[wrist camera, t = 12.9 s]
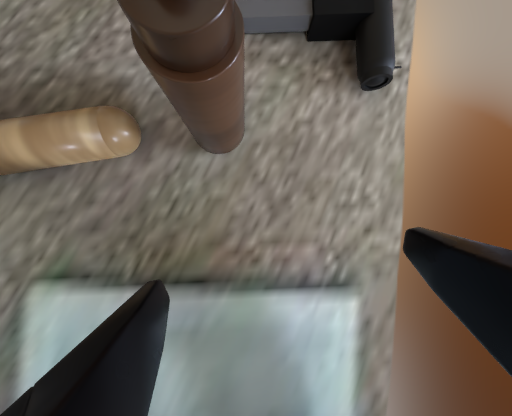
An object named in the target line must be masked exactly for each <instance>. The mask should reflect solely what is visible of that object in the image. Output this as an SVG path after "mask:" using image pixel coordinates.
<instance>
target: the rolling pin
mask: <svg viewBox="0 0 512 416" xmlns="http://www.w3.org/2000/svg"><path fill="white" fill-rule="evenodd" d="M140 141H141V130H140V127H139V125H138V123H137V121H136V120H135V119H134V118H133V117H132V116H131V115H130V114H129V113H128V112H126V111H125V110H123V109H121V108H118V107H115V106H110V105H106V106H95V107H88V108H81V109H74V110H67V111H60V112H53V113H45V114H38V115H31V116H24V117H17V118H10V119H3V120H0V176H1V175H7V174H14V173H20V172H26V171H33V170H39V169H46V168H52V167H59V166H65V165H72V164H78V163H85V162H91V161H98V160H104V159H111V158H117V157H123V156H127V155H129V154H131V153H133V152H134V151H135V150H136V149H137V148H138V146H139V144H140Z"/></svg>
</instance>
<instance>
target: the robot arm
mask: <svg viewBox="0 0 512 416" xmlns="http://www.w3.org/2000/svg"><path fill="white" fill-rule="evenodd" d="M403 251H404V253H405V255H406V256H407V257H408V259H409V260H410V261H411V262H412V264H413V265H414V267H415V268H416V269H417V271H418V272H419V273H420V275H421V276H422V277H423V278H424V280H425V281H426V282H427V284H428V285H429V286H430V287H431V289H432V290H433V291H434V292H435V293H436V294H437V296H438V297H439V298H440V299H441V300H442V301H443V302H444V303H445V304H446V306H447V307H448V308H449V309H450V310H451V311H452V312H453V313H454V314H455V315H456V316H457V317H458V319H460V321H461V322H462V323H463V324H464V325H465V326H466V327H467V329H468V330H469V331H470V332H471V333H472V334H473V335H474V336H475V337H476V338H477V339H478V341H479V342H480V343H481V344H482V345H483V346H484V347H485V348H486V349H487V350H488V352H489V353H490V354H491V355H492V356H493V357H494V358H495V359H496V360H497V361H498V362H499V364H501V366H502V367H503V368H504V369H505V370H506V371H507V372H508V373H509V374H510V376H511V377H512V250H508V249H504V248H501V247H497V246H492V245H489V244H485V243H481V242H477V241H473V240H469V239H465V238H461V237H457V236H453V235H449V234H445V233H441V232H437V231H433V230H429V229H425V228H421V227H416V228H412V229H408V230H407V231H406V233H405V238H404V244H403ZM169 303H170V299H169V295H168V293H167V291H166V288H165V286H164V284H163V282H162V281H161V280H159V279H158V280H153V281H149V282H147V283H146V284H145V285H144V286H142V287H141V288H140V289H139V290H138V291H137V292H136V293H135V294H134V295H133V296H131V297H130V298H129V299H128V300H127V301H126V302H125V303H124V304H123V305H121V306H120V307H119V308H118V309H117V310H116V311H115V312H114V313H113V314H112V315H110V316H109V317H108V318H107V319H106V320H105V321H104V322H103V323H102V324H100V325H99V326H98V327H97V328H96V329H95V330H94V331H93V332H92V333H91V334H89V335H88V336H87V337H86V338H85V339H84V340H83V341H82V342H81V343H79V344H78V345H77V346H76V347H75V348H74V349H73V350H72V351H71V352H70V353H68V354H67V355H66V356H65V357H64V358H63V359H62V360H61V361H60V362H58V363H57V364H56V365H55V366H54V367H53V368H52V369H51V370H50V371H48V372H47V373H46V374H45V375H44V376H43V377H42V378H41V379H40V380H39V381H37V382H36V383H35V385H34V387H31V388H30V389H28V390H27V391H26V392H25V393H24V394H23V395H22V396H21V397H20V398H19V399H18V400H16V401H15V402H14V403H13V404H12V405H11V406H10V407H9V408H7V409H6V410H5V411H4V412H3V413H2V414H1V415H0V416H148V411H149V407H150V403H151V399H152V394H153V390H154V386H155V382H156V377H157V373H158V369H159V365H160V360H161V356H162V352H163V347H164V341H165V333H166V326H167V318H168V311H169Z"/></svg>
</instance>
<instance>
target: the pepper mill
mask: <svg viewBox="0 0 512 416" xmlns="http://www.w3.org/2000/svg"><path fill="white" fill-rule="evenodd" d="M117 1H118V3H119V5H120V7H121V8H122V10H123V12H124V13H125V15H126V17H127V18H128V20H129V22H130V23H131V36H132V40H133V44H134V46H135V49H136V51H137V53H138V55H139V56H140V58H141V60H142V61H143V63H144V64H145V65H146V67H147V68H148V70H149V71H150V73H151V74H152V76H153V77H154V79H155V80H156V82H157V83H158V85H159V86H160V88H161V89H162V91H163V92H164V94H165V95H166V97H167V98H168V100H169V101H170V103H171V104H172V106H173V107H174V108H175V110H176V111H177V113H178V114H179V116H180V117H181V119H182V120H183V122H184V123H185V125H186V126H187V128H188V129H189V131H190V132H191V134H192V135H193V137H194V138H195V140H196V141H197V142H198V144H199V145H200V146H201V147H202V148H203V149H205V150H206V151H209V152H211V153H216V154H222V153H227V152H230V151H232V150H233V149H235V148H236V147H237V146H238V145H239V144H240V142H241V141H242V138H243V135H244V21H243V17H242V14H241V11H240V9H239V7H238V5H237V3H236V1H235V0H117Z"/></svg>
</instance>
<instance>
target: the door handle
mask: <svg viewBox="0 0 512 416" xmlns="http://www.w3.org/2000/svg"><path fill="white" fill-rule="evenodd" d="M235 1H236V3H237V5H238V7H239V9H240V11H241V14H242V17H243V21H244V34H246V33H271V32H296V31H307V41H331V40H356V59H357V76H358V79H359V81H360V84H361V89H362V90H365V91H372V90H376V89H380V88H382V87H384V86H386V85H387V84H389V83H390V82H391V81H392V79H393V70H394V69H395V68H401V66H395V48H394V28H393V7H392V0H235ZM394 66H395V67H394Z"/></svg>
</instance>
